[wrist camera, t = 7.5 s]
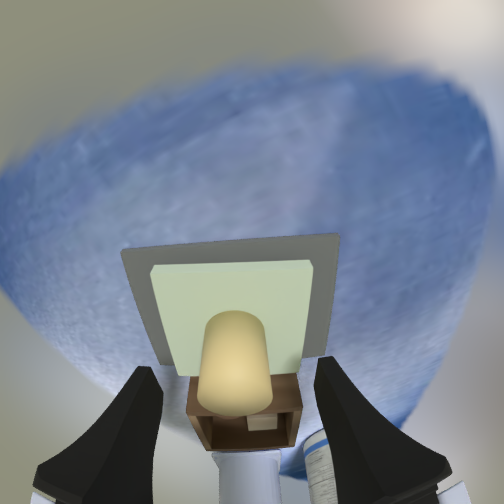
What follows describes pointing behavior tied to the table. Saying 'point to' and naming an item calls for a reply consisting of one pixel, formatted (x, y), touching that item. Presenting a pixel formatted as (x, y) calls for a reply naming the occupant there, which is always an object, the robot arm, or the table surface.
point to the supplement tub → (320, 469)
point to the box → (250, 420)
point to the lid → (234, 327)
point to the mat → (245, 250)
